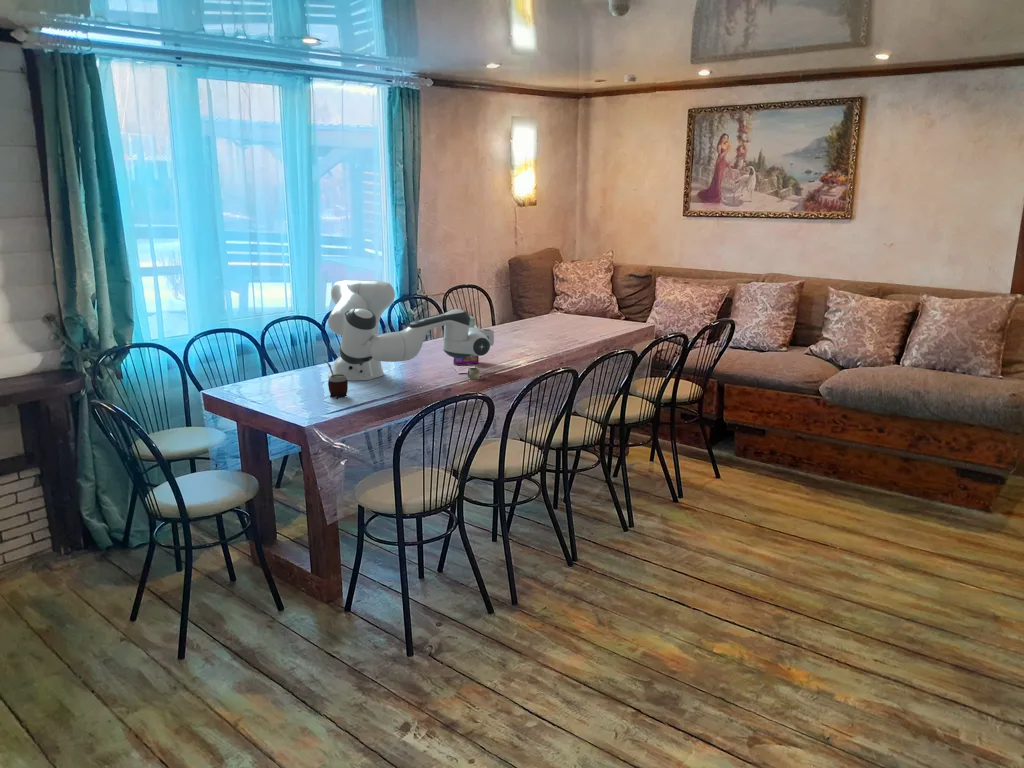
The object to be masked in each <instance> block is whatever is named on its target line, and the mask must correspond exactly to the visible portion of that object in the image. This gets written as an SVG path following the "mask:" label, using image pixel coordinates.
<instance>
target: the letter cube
mask: <svg viewBox="0 0 1024 768" xmlns="http://www.w3.org/2000/svg"><path fill="white" fill-rule="evenodd" d="M479 370H480V369H479V368H478V366H476V367H475V368H468V374H467V378H468V377H469V378H470V379H471V380H479V379H480V373H479ZM469 378H468V379H469ZM470 379H469V380H470Z"/></svg>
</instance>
